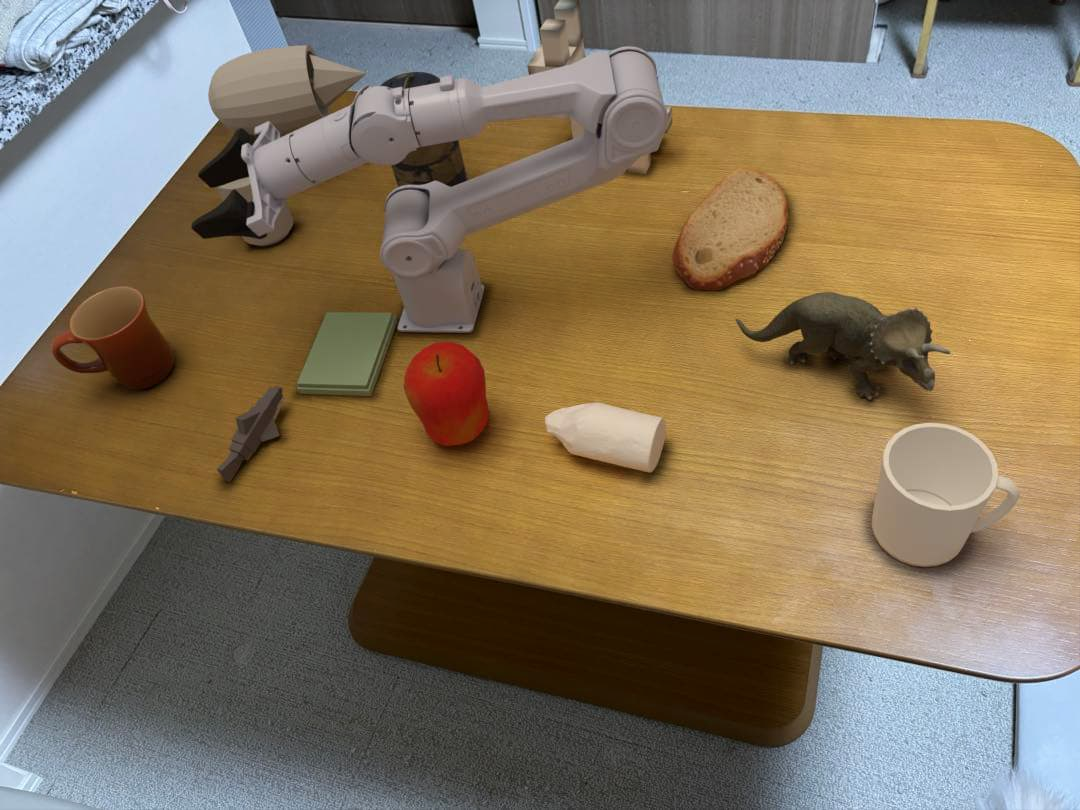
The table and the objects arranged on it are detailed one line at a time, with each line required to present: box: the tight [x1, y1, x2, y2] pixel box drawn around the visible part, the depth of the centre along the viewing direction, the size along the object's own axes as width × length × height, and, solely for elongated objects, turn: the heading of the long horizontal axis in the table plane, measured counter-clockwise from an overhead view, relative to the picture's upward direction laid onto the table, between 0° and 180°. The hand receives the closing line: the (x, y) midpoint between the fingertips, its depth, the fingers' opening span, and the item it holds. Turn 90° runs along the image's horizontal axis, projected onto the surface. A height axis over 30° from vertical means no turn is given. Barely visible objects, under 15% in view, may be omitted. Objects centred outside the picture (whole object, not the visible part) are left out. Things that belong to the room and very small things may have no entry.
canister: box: [379, 71, 469, 187], centre depth 118 cm, size 10×10×18 cm
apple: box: [403, 340, 490, 447], centre depth 93 cm, size 9×8×12 cm
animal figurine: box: [216, 385, 286, 483], centre depth 99 cm, size 12×4×5 cm, turn 153°
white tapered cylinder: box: [544, 401, 667, 473], centre depth 91 cm, size 6×12×6 cm, turn 68°
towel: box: [296, 311, 398, 397], centre depth 107 cm, size 9×12×2 cm
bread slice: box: [671, 167, 789, 291], centre depth 110 cm, size 18×18×4 cm
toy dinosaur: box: [735, 291, 952, 401], centre depth 91 cm, size 22×8×11 cm, turn 49°
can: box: [215, 177, 295, 247], centre depth 121 cm, size 8×8×12 cm
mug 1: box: [50, 285, 175, 390], centre depth 106 cm, size 12×9×10 cm
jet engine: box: [207, 44, 367, 138], centre depth 128 cm, size 15×20×18 cm
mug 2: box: [871, 422, 1020, 568], centre depth 78 cm, size 11×9×10 cm
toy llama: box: [526, 0, 673, 175], centre depth 118 cm, size 8×18×20 cm, turn 69°
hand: (201, 205), depth 97 cm, fingers open, 7 cm apart
